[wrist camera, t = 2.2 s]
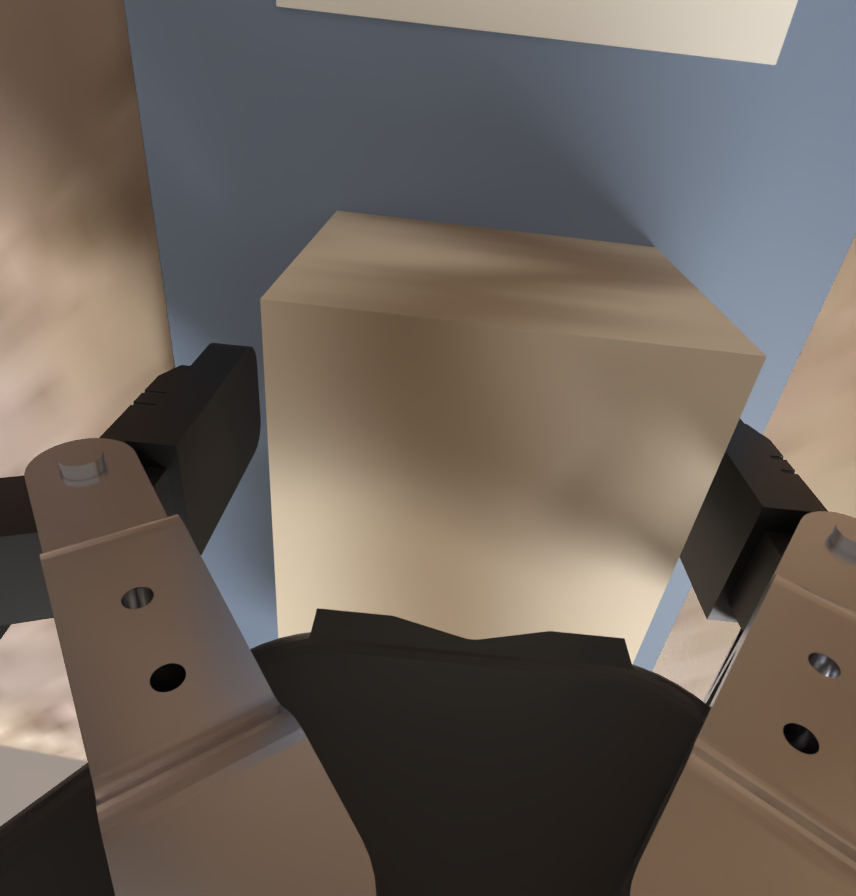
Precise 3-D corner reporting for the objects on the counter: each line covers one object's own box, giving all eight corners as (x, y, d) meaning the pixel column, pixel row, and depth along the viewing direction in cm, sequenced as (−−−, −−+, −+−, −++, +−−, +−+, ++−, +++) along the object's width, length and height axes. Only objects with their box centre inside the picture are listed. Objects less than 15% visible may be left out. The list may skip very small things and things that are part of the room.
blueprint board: (1482, -1271, 5) (1703, -1561, 4) (633, 666, 19) (641, 697, 18) (-30, -1480, 5) (-139, -1819, 4) (225, 622, 19) (213, 650, 18)
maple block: (655, 246, 11) (766, 356, 7) (580, 499, 15) (626, 677, 10) (336, 210, 11) (259, 298, 7) (333, 472, 15) (278, 639, 10)
